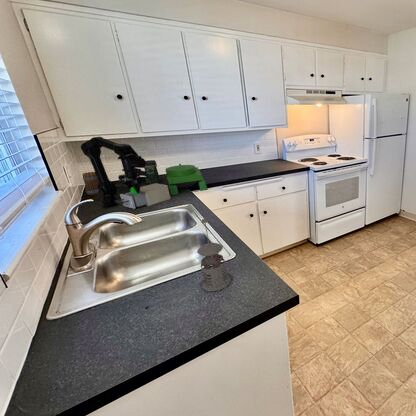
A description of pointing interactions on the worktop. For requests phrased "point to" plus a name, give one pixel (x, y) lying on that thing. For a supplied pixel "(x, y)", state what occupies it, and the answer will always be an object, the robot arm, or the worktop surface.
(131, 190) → the polyhedron
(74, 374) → the worktop surface
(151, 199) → the grey box
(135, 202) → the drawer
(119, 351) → the worktop surface
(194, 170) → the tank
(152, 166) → the coffee jar
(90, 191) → the mug
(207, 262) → the french press
